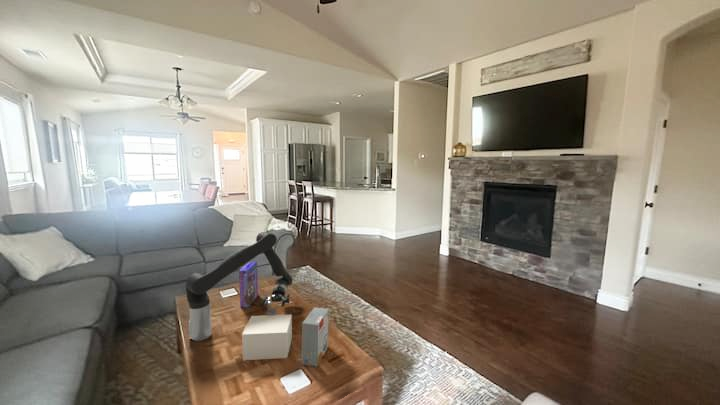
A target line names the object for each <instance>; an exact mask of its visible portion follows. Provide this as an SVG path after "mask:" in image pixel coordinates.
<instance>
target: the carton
mask: <svg viewBox="0 0 720 405" xmlns="http://www.w3.org/2000/svg"><path fill="white" fill-rule="evenodd" d="M292 318H293V315H292V316H291V320H290V324H289V328H288V331H287V334H269V335H247V336H242V335H241V342H242V343H241V347H242V360H243V361H252V360H256V361H257V360H273V359H274V360H275V359H276V360H277V359H288V357H289V353H290V348H291V344H292V340H293V320H292Z"/></svg>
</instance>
